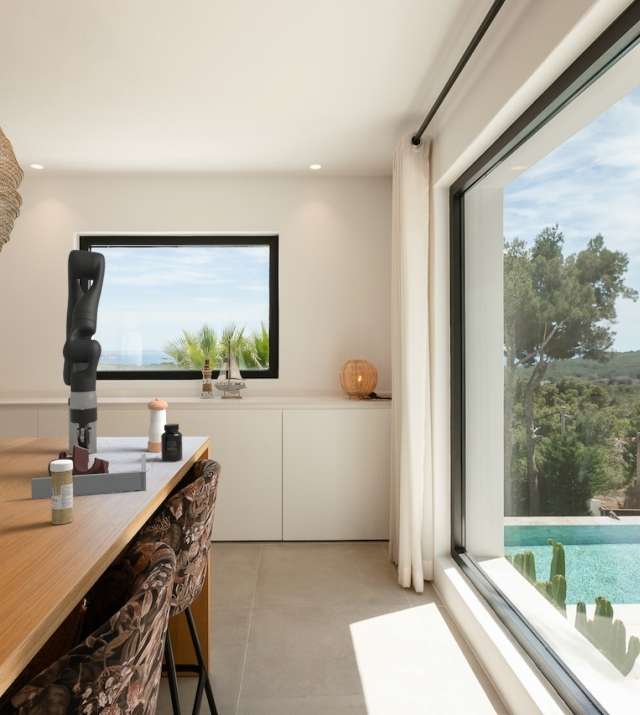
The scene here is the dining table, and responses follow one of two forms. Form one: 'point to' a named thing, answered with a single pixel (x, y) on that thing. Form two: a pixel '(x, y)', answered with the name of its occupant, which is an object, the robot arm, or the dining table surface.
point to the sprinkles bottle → (61, 491)
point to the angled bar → (96, 483)
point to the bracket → (83, 462)
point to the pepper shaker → (156, 424)
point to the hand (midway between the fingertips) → (84, 463)
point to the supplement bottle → (171, 443)
